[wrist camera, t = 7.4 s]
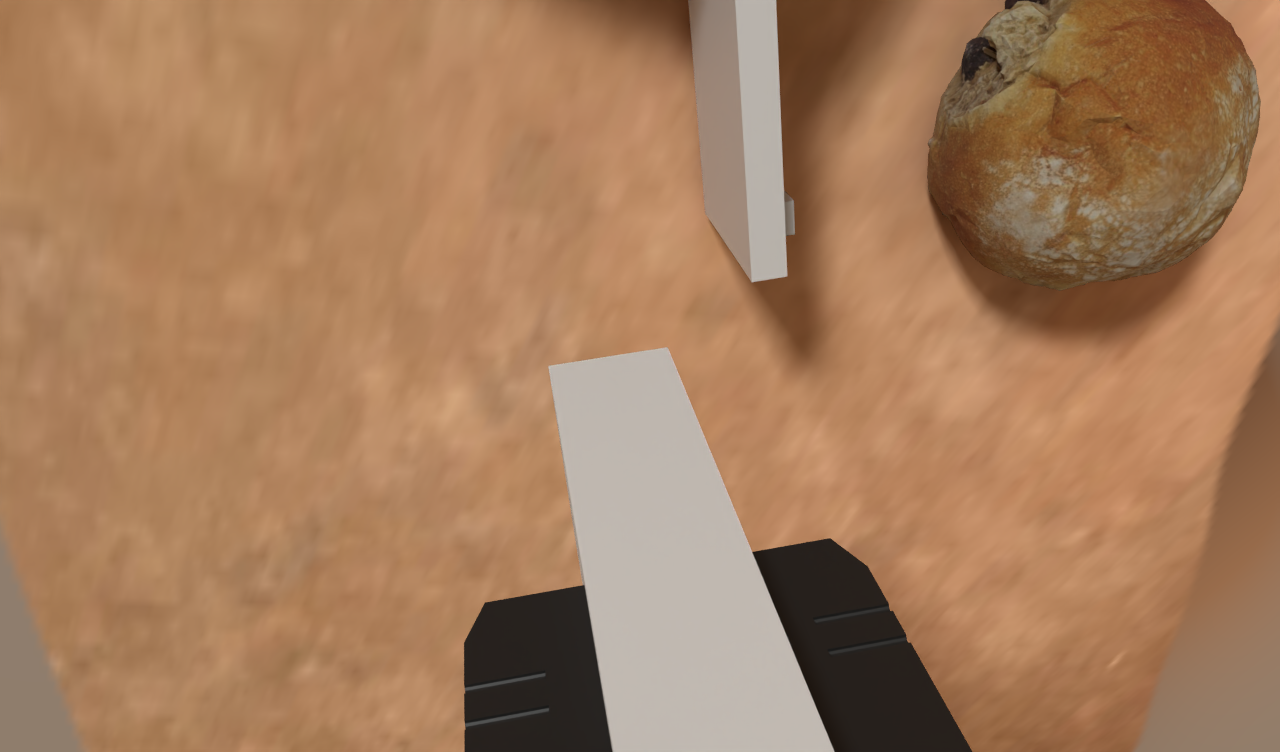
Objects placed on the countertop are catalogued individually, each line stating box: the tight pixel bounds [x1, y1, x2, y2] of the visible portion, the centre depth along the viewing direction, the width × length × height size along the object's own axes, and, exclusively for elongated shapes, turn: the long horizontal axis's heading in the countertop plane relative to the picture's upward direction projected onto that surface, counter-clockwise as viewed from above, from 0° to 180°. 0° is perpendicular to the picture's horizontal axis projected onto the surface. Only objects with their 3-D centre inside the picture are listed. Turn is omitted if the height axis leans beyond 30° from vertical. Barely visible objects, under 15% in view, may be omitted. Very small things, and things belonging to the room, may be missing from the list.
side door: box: [688, 0, 795, 282], centre depth 28 cm, size 2×10×6 cm, turn 7°
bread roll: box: [927, 0, 1261, 291], centre depth 32 cm, size 10×10×8 cm
